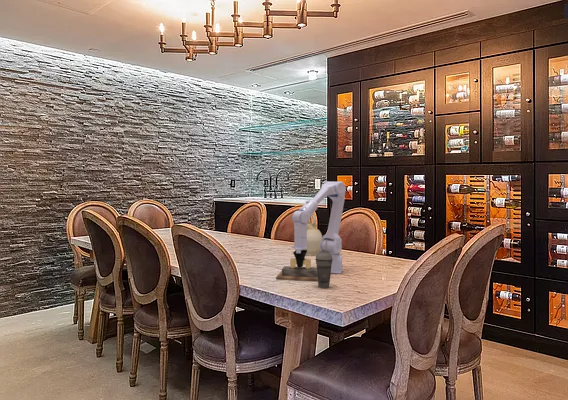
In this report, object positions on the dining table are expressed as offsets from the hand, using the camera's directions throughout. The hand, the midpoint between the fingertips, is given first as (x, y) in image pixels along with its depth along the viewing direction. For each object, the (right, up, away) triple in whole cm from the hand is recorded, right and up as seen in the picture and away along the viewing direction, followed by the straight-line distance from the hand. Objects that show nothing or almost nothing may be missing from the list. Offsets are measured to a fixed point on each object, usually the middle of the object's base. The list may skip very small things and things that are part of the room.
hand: (300, 266), depth 196 cm
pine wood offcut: (0, -3, 0) cm, 3 cm away
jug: (+8, -3, +64) cm, 65 cm away
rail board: (0, -5, 0) cm, 5 cm away
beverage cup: (+9, -6, -18) cm, 21 cm away
